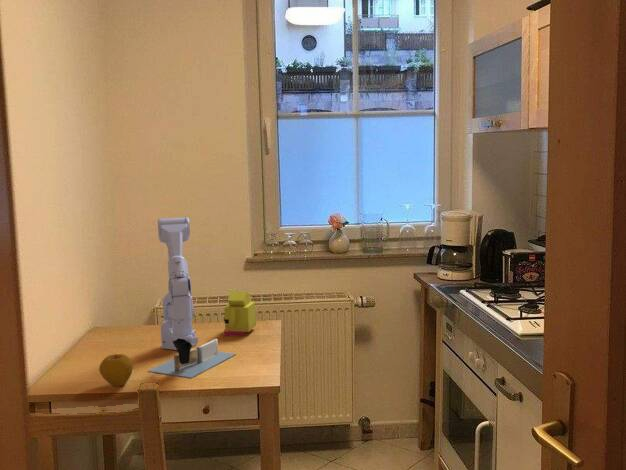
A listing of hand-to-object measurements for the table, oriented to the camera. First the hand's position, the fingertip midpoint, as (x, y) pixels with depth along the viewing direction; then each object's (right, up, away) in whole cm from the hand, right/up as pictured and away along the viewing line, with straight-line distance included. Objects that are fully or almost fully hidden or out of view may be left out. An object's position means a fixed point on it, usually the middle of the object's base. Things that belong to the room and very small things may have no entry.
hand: (184, 363), depth 191 cm
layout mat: (+1, -1, +7) cm, 7 cm away
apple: (-17, -4, -10) cm, 20 cm away
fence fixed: (+5, -1, +10) cm, 12 cm away
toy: (+12, +3, +40) cm, 42 cm away
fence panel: (0, -2, +2) cm, 3 cm away
